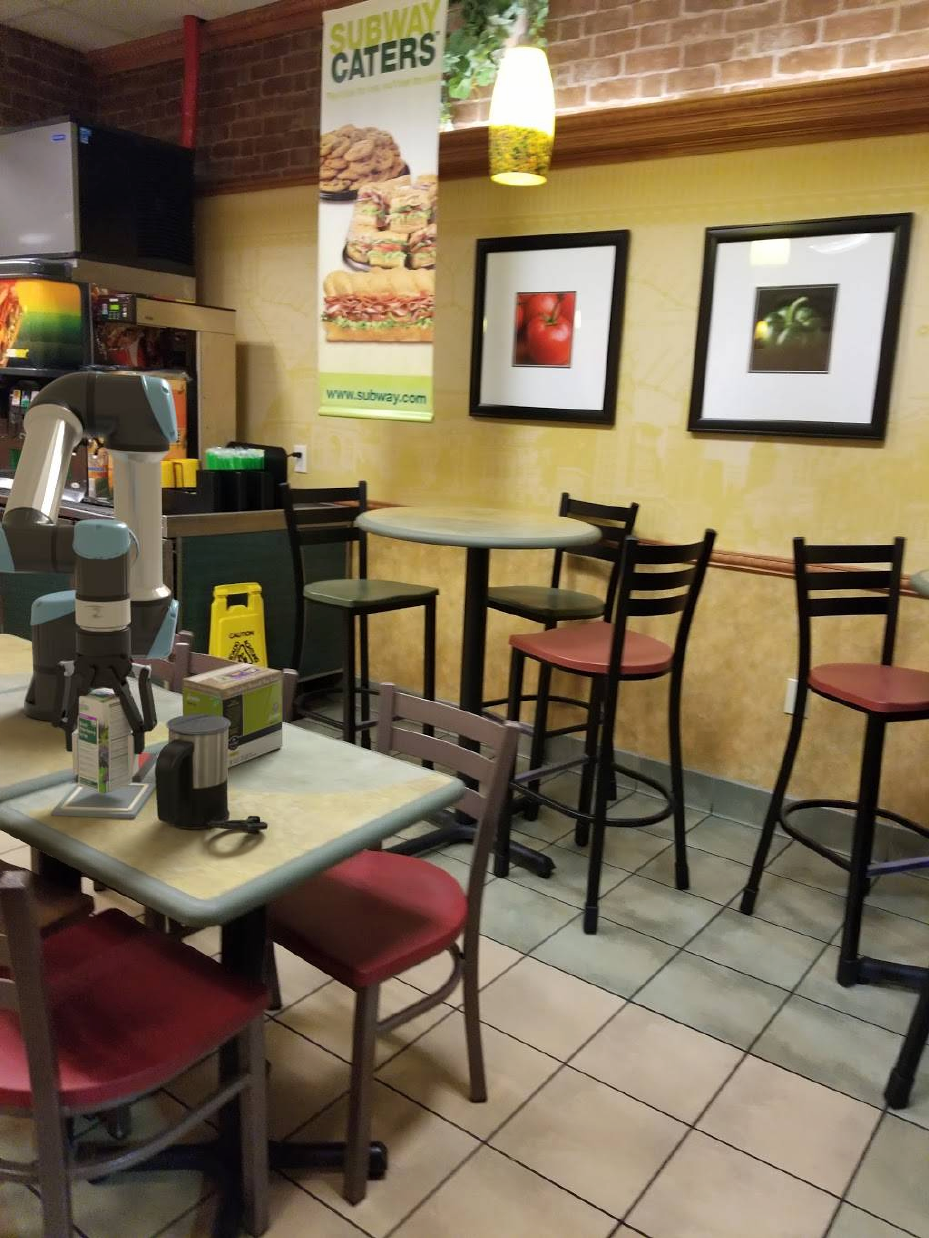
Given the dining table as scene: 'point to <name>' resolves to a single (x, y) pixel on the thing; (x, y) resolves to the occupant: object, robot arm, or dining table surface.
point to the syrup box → (102, 742)
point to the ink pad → (143, 765)
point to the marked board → (105, 801)
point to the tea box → (240, 706)
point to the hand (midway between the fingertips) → (106, 772)
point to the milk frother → (197, 776)
